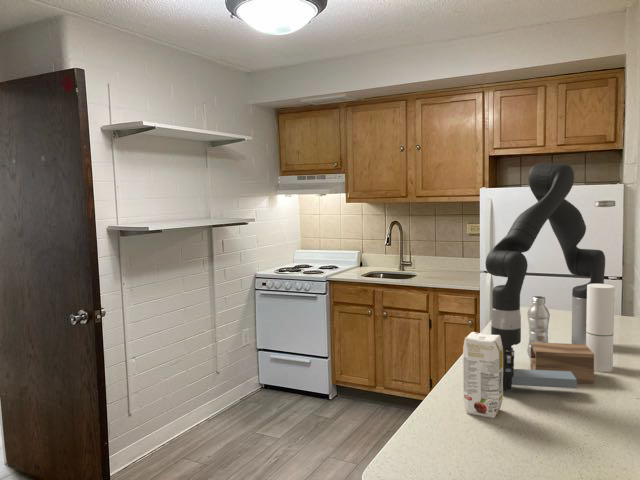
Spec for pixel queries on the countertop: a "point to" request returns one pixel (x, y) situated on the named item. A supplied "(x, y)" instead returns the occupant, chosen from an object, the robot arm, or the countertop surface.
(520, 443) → the countertop surface
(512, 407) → the countertop surface
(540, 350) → the brown box
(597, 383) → the countertop surface
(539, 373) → the cover plate
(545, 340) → the plastic bottle
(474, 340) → the juice carton
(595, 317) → the cylindrical container
